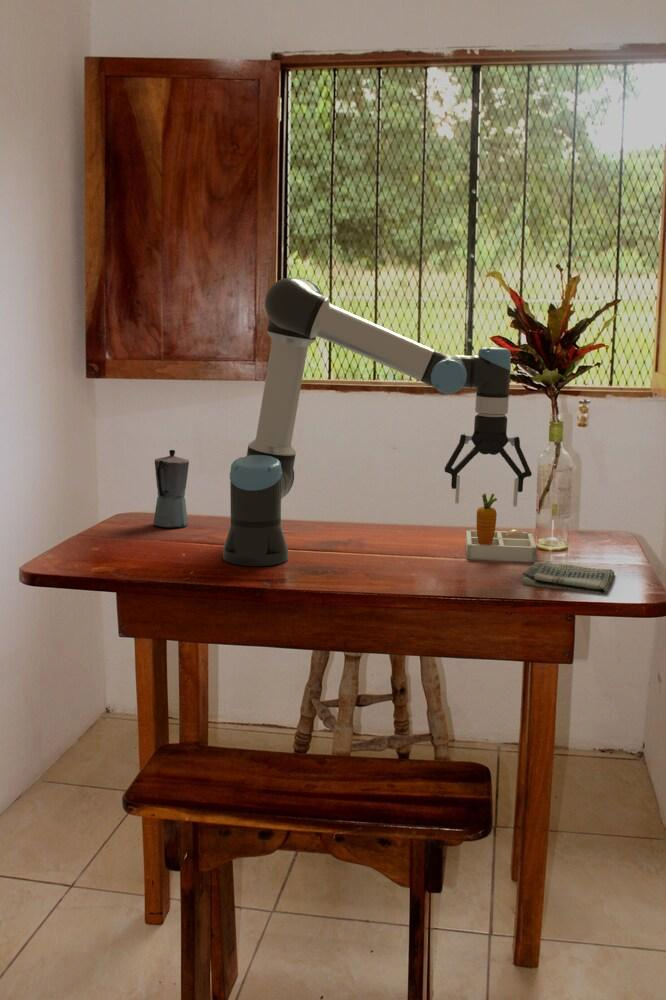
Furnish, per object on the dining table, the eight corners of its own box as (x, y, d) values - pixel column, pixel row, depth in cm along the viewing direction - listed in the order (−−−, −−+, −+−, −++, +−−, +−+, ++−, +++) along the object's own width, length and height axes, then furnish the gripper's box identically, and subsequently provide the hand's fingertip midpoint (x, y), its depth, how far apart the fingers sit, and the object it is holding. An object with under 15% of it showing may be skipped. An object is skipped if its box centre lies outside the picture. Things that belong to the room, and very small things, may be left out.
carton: (535, 562, 247) (536, 547, 246) (466, 559, 248) (467, 544, 247) (530, 546, 262) (531, 532, 261) (465, 543, 264) (466, 529, 263)
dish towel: (615, 576, 237) (616, 563, 237) (606, 597, 221) (607, 583, 220) (533, 567, 244) (534, 554, 243) (518, 587, 227) (519, 573, 227)
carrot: (489, 550, 255) (493, 489, 251) (498, 556, 250) (501, 494, 246) (470, 551, 253) (473, 490, 250) (479, 557, 249) (482, 495, 245)
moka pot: (197, 520, 284) (196, 447, 280) (178, 533, 269) (178, 456, 265) (163, 518, 286) (162, 445, 282) (143, 531, 271) (142, 454, 267)
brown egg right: (524, 550, 256) (525, 531, 255) (505, 549, 256) (506, 531, 255) (523, 545, 260) (524, 527, 259) (504, 544, 261) (505, 526, 260)
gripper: (544, 415, 248) (537, 503, 252) (437, 410, 250) (433, 498, 254) (547, 418, 240) (540, 509, 245) (437, 414, 243) (432, 504, 247)
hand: (485, 504), depth 249 cm, fingers open, 13 cm apart
